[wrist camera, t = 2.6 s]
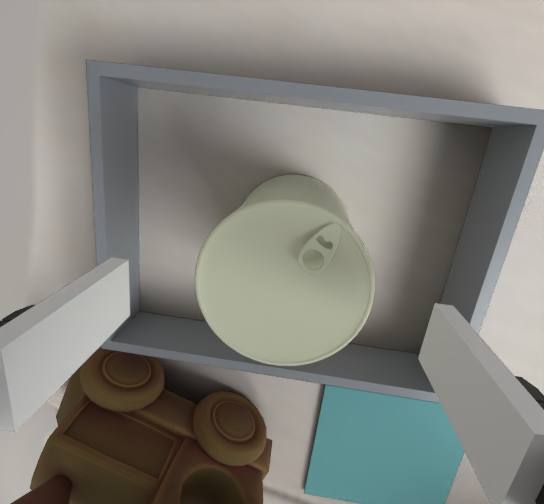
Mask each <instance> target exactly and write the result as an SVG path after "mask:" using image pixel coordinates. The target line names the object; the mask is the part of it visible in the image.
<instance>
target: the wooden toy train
mask: <svg viewBox="0 0 544 504" xmlns="http://www.w3.org/2000/svg"><path fill="white" fill-rule="evenodd" d="M164 384H165V381H164V370H163V368H162V365H161V363H160V361H159V360H158V359H157V358H156V357H152V356H146V355H140V354H134V353H128V352H121V351H115V350H109V349H103V348H99V349H98V350H97V351H95V352H94V353H93V354H92V355H91V356H90V357H89V358H88V359H87V360H86V361H85V362H84V363H83V364H82V365H81V366H80V367H79V368H78V369H77V370H76V371H75V372H74V373H73V375H72V376H71V377H70V380H69V383H68V385H67V388H66V391H65V394H64V396H63V399H62V402H61V404H60V407H59V410H58V413H57V415H56V419H57V422H58V427H57V428H56V429H55V431H54V432H53V433H52V434H51V436H50V437H49V438H48V440H47V442H46V444H45V447H44V449H43V451H42V453H41V455H40V458H39V460H38V464H37V466H36V469H35V471H34V474H33V477H32V481H31V486H30V489H31V490H32V491H30V492H29V493H27V494H25V495H24V496H22V497H21V498H19V499H17V500H16V501H14V502H13V503H11V504H263V482H262V480H263V479H264V477H265V476H266V475H267V473H268V472H269V464H270V456H271V447H272V440H270V439H268V438H266V426H265V423H264V420H263V417H262V416H261V414H260V412H259V411H258V409H257V408H256V407H255V406H254V405H253V404H252V403H251V402H250V401H249V400H248V399H246V398H244V397H243V396H241V395H238V394H236V393H233V392H225V391H220V392H215V393H212V394H210V395H208V396H207V397H205V398H204V399H202V400H201V401H200V402H199V404H198V405H197V404H195V403H193V402H191V401H189V400H187V399H185V398H182V397H180V396H178V395H176V394H174V393H172V392H170V391H168V390H166V389H164V388H163V387H164Z"/></svg>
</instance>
